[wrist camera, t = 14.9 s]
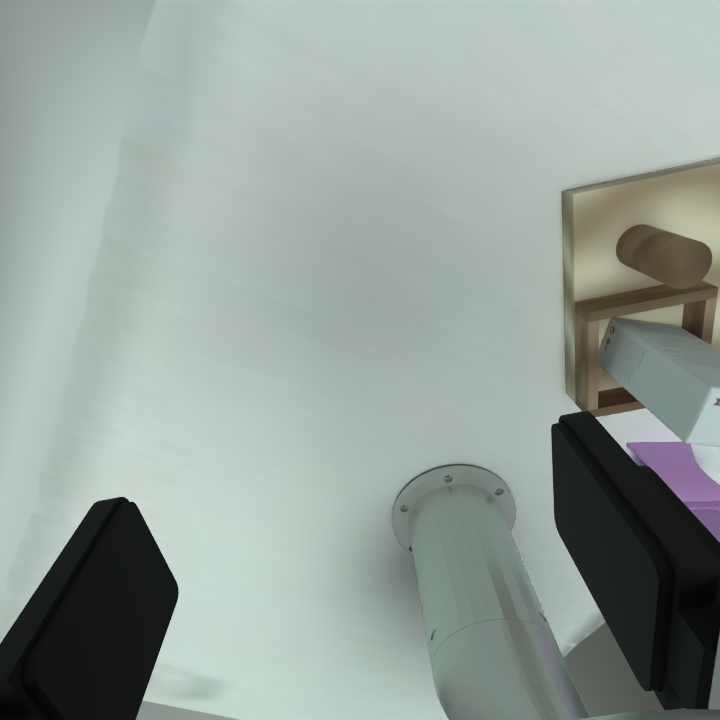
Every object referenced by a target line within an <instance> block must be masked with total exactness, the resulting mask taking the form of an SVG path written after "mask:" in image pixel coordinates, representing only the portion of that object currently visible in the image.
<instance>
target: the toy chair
mask: <svg viewBox="0 0 720 720" xmlns="http://www.w3.org/2000/svg"><path fill="white" fill-rule="evenodd" d="M627 447H628V448H629V449H630V450H631V451H633V452H634V453H635V454H636V455H637V456H638V457H639V458H640V459H641V460H642V461H643V462H644V463H645V464H646V465H647V466H648V467H650V468H651V469H652V470H654V471H655V472H656V473H657V474H658V475H659V477H660V478H661V479H662V480H663V481H664V482H665V483H666V484H667V485H668V486H669V488H670V489H671V490H672V491H673V492H674V493H675V494H676V495H677V496H678V497H679V498H680V500H681V501H682V502H683V503H684V504H685V505H686V506H687V507H688V508H689V509H690V510H691V512H692V513H693V514H694V515H695V516H696V517H697V518H698V519H699V520H700V521H701V523H702V524H703V525H704V526H705V527H706V528H707V529H708V530H709V531H710V532H711V533H712V535H713V536H714V537H715V538H716V539H717V540H718V541H719V542H720V485H719V484H718V483H717V482H715V481H714V480H713V479H711V478H710V477H709V476H708V475H707V474H706V473H705V472H704V471H703V470H702V469H701V468H700V467H699V465H698V464H697V462H696V460H695V458H694V455H693V452H692V448H691V444H686V443H684V442H638V443H627Z"/></svg>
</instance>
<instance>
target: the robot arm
mask: <svg viewBox="0 0 720 720" xmlns="http://www.w3.org/2000/svg"><path fill="white" fill-rule="evenodd" d="M551 435H552V463H553V491H554V517H555V523H556V527H557V530H558V533H559V535H560V537H561V539H562V540H563V542H564V544H565V546H566V548H567V550H568V552H569V553H570V555H571V557H572V559H573V561H574V563H575V565H576V567H577V568H578V570H579V572H580V574H581V576H582V578H583V580H584V581H585V583H586V585H587V587H588V589H589V591H590V593H591V595H592V596H593V598H594V600H595V602H596V604H597V606H598V608H599V609H600V611H601V613H602V615H603V617H604V619H605V621H606V623H607V624H608V626H609V628H610V630H611V632H612V634H613V636H614V637H615V639H616V641H617V643H618V645H619V647H620V649H621V650H622V652H623V654H624V656H625V658H626V660H627V662H628V663H629V665H630V667H631V669H632V671H633V673H634V675H635V677H636V678H637V680H638V682H639V683H640V685H641V687H642V688H643V689H644V690H645V691H652V690H654V692H655V694H656V696H657V698H658V699H659V701H660V703H661V705H662V707H663V708H664V710H661V711H648V712H634V713H625V714H617V715H609V716H601V717H593V718H590V717H589V715H588V713H587V711H586V709H585V707H584V704H583V702H582V700H581V698H580V696H579V694H578V691H577V689H576V687H575V685H574V682H573V680H572V678H571V676H570V673H569V671H568V669H567V667H566V664H565V662H564V659H563V657H562V655H561V652H560V650H559V647H558V645H557V643H556V640H555V638H554V635H553V633H552V631H551V628H550V626H549V623H548V621H547V619H546V616H545V614H544V611H543V609H542V607H541V604H540V602H539V599H538V597H537V595H536V592H535V590H534V587H533V585H532V583H531V580H530V578H529V575H528V573H527V571H526V568H525V566H524V563H523V561H522V559H521V556H520V554H519V551H518V549H517V547H516V544H515V542H514V540H513V537H512V535H511V530H512V529H513V526H514V523H515V519H516V507H515V502H514V499H513V497H512V495H511V492H510V491H509V489H508V488H507V486H506V485H505V483H504V482H503V481H502V480H501V479H499V478H498V477H497V476H495V475H494V474H492V473H490V472H489V471H486V470H483V469H480V468H477V467H471V466H448V467H442V468H438V469H435V470H432V471H429V472H427V473H425V474H423V475H421V476H419V477H418V478H416V479H415V480H413V481H412V482H411V483H410V484H409V485H408V486H407V487H406V488H405V489H404V490H403V491H402V492H401V494H400V495H399V497H398V498H397V500H396V503H395V505H394V508H393V514H392V520H393V529H394V533H395V536H396V538H397V540H398V542H399V544H400V545H401V546H402V547H403V548H404V550H405V551H407V552H408V553H409V554H411V555H412V556H413V558H414V564H415V570H416V576H417V582H418V588H419V594H420V600H421V606H422V612H423V618H424V624H425V630H426V636H427V642H428V648H429V654H430V660H431V666H432V672H433V678H434V684H435V688H436V692H437V696H438V698H439V701H440V704H441V706H442V708H443V710H444V712H445V714H446V715H447V717H448V719H449V720H720V542H719V541H718V540H717V539H716V538H715V537H714V536H713V535H712V533H711V532H710V531H709V530H708V529H707V528H706V527H705V526H704V525H703V524H702V523H701V521H700V520H699V519H698V518H697V517H696V516H695V515H694V514H693V513H692V512H691V510H690V509H689V508H688V507H687V506H686V505H685V504H684V503H683V502H682V501H681V500H680V498H679V497H678V496H677V495H676V494H675V493H674V492H673V491H672V490H671V489H670V488H669V486H668V485H667V484H666V483H665V482H664V481H663V480H662V479H661V478H660V477H659V475H658V474H657V473H656V472H655V471H654V470H652V469H651V468H650V467H648V466H645V465H642V466H637V465H636V463H635V462H634V461H633V460H632V459H631V458H630V457H629V456H628V454H627V453H626V452H625V451H624V450H623V449H622V448H621V446H620V445H619V444H618V443H617V442H616V441H615V440H614V438H613V437H612V436H611V435H610V434H609V433H608V432H607V430H606V429H605V428H604V427H603V426H602V425H601V424H600V422H599V421H598V420H597V419H596V418H595V417H594V416H593V414H591V413H590V412H589V411H583V412H578V413H573V414H567V415H562V416H560V418H559V423H556V424H553V425H552V427H551ZM177 599H178V585H177V582H176V580H175V578H174V576H173V574H172V572H171V571H170V569H169V567H168V565H167V563H166V561H165V559H164V557H163V555H162V553H161V551H160V549H159V547H158V545H157V543H156V542H155V540H154V538H153V536H152V534H151V532H150V530H149V528H148V526H147V524H146V522H145V520H144V518H143V516H142V514H141V513H140V511H139V509H138V507H137V505H136V504H135V503H134V502H129V501H128V499H126V498H125V497H118V498H113V499H107V500H102V501H98V502H96V503H94V504H93V506H92V507H91V508H90V510H89V511H88V513H87V514H86V516H85V517H84V519H83V520H82V522H81V523H80V525H79V526H78V528H77V529H76V531H75V532H74V534H73V535H72V537H71V538H70V540H69V541H68V543H67V544H66V546H65V547H64V549H63V550H62V552H61V553H60V555H59V556H58V558H57V559H56V561H55V562H54V564H53V565H52V567H51V568H50V570H49V571H48V573H47V574H46V576H45V578H44V579H43V581H42V582H41V584H40V585H39V587H38V588H37V590H36V591H35V593H34V594H33V596H32V597H31V599H30V600H29V602H28V603H27V605H26V606H25V608H24V609H23V611H22V612H21V614H20V615H19V617H18V618H17V620H16V621H15V623H14V624H13V626H12V627H11V629H10V630H9V632H8V633H7V635H6V636H5V638H4V639H3V641H2V642H1V644H0V720H136V717H137V714H138V711H139V708H140V705H141V703H142V700H143V697H144V694H145V691H146V688H147V685H148V683H149V680H150V677H151V674H152V671H153V668H154V666H155V663H156V660H157V657H158V654H159V651H160V648H161V646H162V643H163V640H164V637H165V634H166V631H167V628H168V626H169V623H170V620H171V617H172V614H173V611H174V608H175V606H176V603H177ZM681 708H685V709H681ZM674 709H675V710H674Z"/></svg>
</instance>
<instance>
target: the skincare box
mask: <svg viewBox="0 0 720 720" xmlns="http://www.w3.org/2000/svg"><path fill="white" fill-rule="evenodd" d="M599 365H600V366H601V367H602V368H603V369H604V370H605V371H606V372H607V373H608V374H610V375H611V376H612V377H613V378H614V379H615V380H616V381H617V382H618V383H620V384H621V385H622V386H623V387H624V388H625V389H626V390H627V391H628V392H629V393H630V394H632V395H633V396H634V397H635V398H636V399H637V400H638V401H639V402H640V403H641V404H643V405H644V406H645V407H646V408H647V409H648V410H649V411H650V412H651V413H653V414H654V415H655V416H656V417H657V418H658V419H659V420H660V421H661V422H662V423H663V424H665V425H666V426H667V427H668V428H669V429H670V430H671V431H672V432H673V433H674V434H676V435H677V436H678V437H679V438H680V439H681V440H682V441H683V442H684V443H686V444H698V445H708V446H719V447H720V350H718V349H717V348H715V347H713V346H712V345H710V344H708V343H706V342H705V341H703V340H701V339H700V338H698V337H696V336H695V335H693V334H691V333H690V332H688V331H686V330H685V329H683V328H681V327H679V326H677V325H669V324H662V323H654V322H646V321H638V320H630V319H622V318H615V317H614V318H612V320H611V322H610V325H609V327H608V330H607V332H606V335H605V338H604V340H603V343H602V346H601V348H600V351H599Z"/></svg>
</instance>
